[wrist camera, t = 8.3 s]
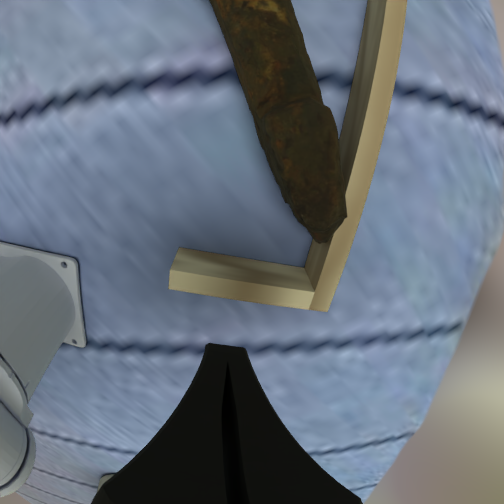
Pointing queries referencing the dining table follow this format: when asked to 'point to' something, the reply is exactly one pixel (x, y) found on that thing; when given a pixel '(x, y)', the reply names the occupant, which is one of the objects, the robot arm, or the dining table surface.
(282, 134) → the hand tool
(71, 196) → the dining table surface
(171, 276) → the beige bent bracket
